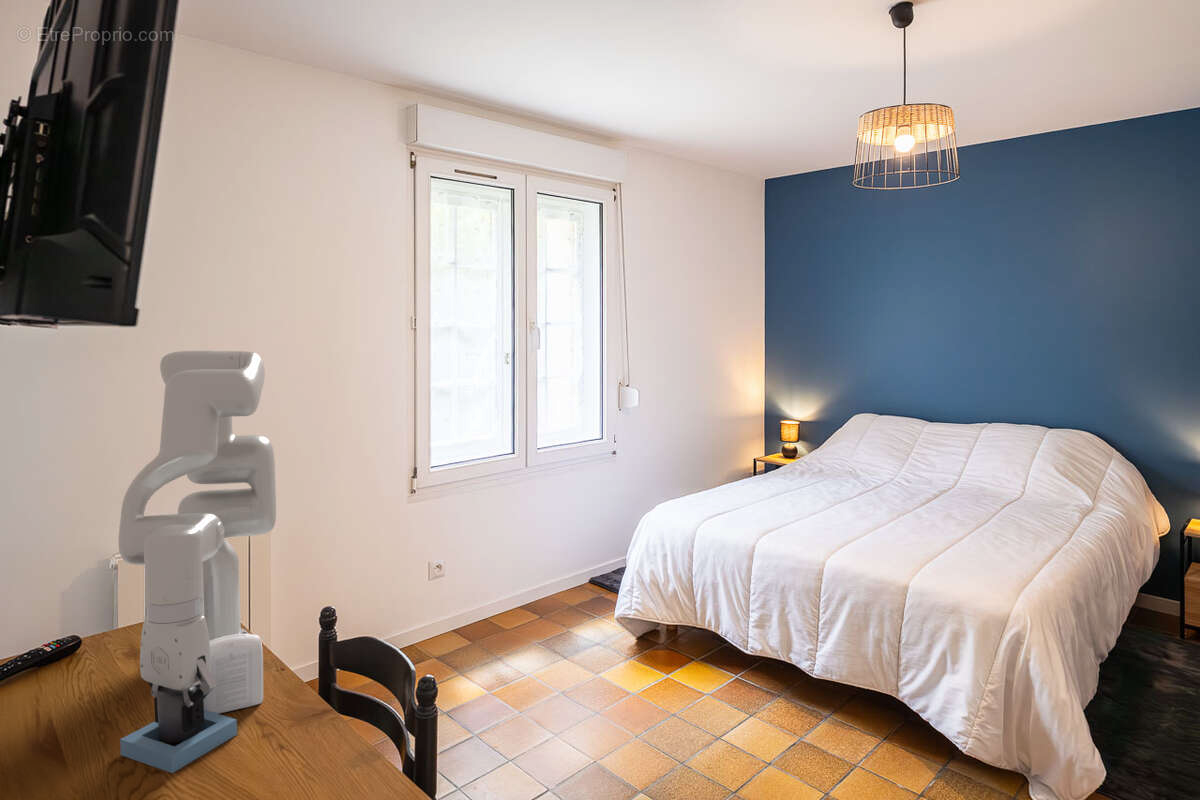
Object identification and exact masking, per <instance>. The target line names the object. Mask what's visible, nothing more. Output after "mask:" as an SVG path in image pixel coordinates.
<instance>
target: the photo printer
mask: <svg viewBox="0 0 1200 800" xmlns="http://www.w3.org/2000/svg"><path fill="white" fill-rule="evenodd" d="M262 643H263V642H262V641H261V637H260V635H259V634H253V633H249V634H235V635H229V636H224V637H220V638H217V639H214V640H211V641H210V650H211V674H212V676H213V678H214V680H215V681H216V684H217V685H216V687H215V688H214V689H213V690H211V691H210V692H209V694H208V695H207V697H206V699H204V710H206V711H210V712H213V713H216V714H223V713H227V712H231V711H235V710H236V711H237V710H239V709H245V708H249V707H254V706H256V705H259V704H261V703H263V701H264V652H263V651H264V648H263V645H262Z"/></svg>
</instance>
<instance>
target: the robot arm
mask: <svg viewBox="0 0 1200 800" xmlns="http://www.w3.org/2000/svg"><path fill="white" fill-rule="evenodd" d="M159 368H160V376H161V378H162V381H163V383H164V385H165V387H164V394H163V395H164V397H163V409H162V419H161V420H162V421H161V431H160V443H159V444H160V445H159V452H158V454H157V455H156V456H155V457H154V458H153V459H152V460H151V461H150V462H148V464H146V465H145V466H144V467H143V468H142V469H141V470H140V471H139V472H138V473H137V475H136V476H135V477H134V479H132V481H131V483H130V484H129V486H128V487H127V490H126V492H125V494H124V497H123V499H122V503H121V504H122V505H121V511H120V521H119V527H118V550H119V551H118V552H119V555H120V556H121V558H122V560H123V561H125V562H126V563H127V564H131V565H136V566H139V565H140V566H141V565H144V579H145V580H144V584H145V610H146V613H145V614H146V615H145V617H144V619H143V624H142V629H141V638H140V654H139V655H140V656H139V657H140V658H139V659H140V660H139V665H140V666H139V667H140V668H139V669H140V678H142V680H143V681H145V682H147V683H148V684H149V687H150V688H151V691H150V694H151V696H152V697H153V701H154V702H153V703H154V705H153V706H154V722H156V723H158V707H157V692H158V690H159V689H161V688H162V687H166V688H170V689H174V690H178V691H182V694H183V698H184V702H185V706H183V707H182V725H183V731H184V732H188V731H190V730H192V729H194V728H196V727H197V726H199V725H201V724H203V722H204V699H206V697H207V695H208V694H209V692H210V691H211V690H213V689H214V688H215V687H216V685H217V684H216V681H215V680H214V678H213V676H212V674H211V650H210V641H211V640H214V639H217V638H220V637H224V636H229V635H235V634H250V632H249V631H248V630H247V631H248V632H249V633H248V632H247V631H246V629H245V628H243V627H241V625H242V623H241V621H242V620H241V595H240V594H241V590H240V589H241V588H240V560H239V556H238V553H237V551H236V550H235V549H234V547H233V546H232V545H231V544H230V543H229V541H227V538H229V539H230V538H236V537H251V536H252V537H253V536H260V535H265V534H268V533H270V532H271V531H272V530H273V529H274V527H275V525H276V520H277V492H276V490H277V489H276V468H275V467H276V461H275V452H274V449H273V445H272V443H271V441H270V439H268V437H265V436H263V435H257V434H255V435H254V434H249V435H247V434H245V435H243V434H242V435H235V434H234V432H233V417H249V416H251V415H254V413H255V412H256V411H257V409H258V407H259V403H260V400H261V395H262V390H263V388H264V382H265V366H264V362H263V360H262V358H261V357H260V355H259V354H258V353H255V352H254V351H253V352H252V351H241V350H238V351H237V350H235V351H234V350H232V351H231V350H182V351H181V350H180V351H173V352H171V353H169V352H168V354H166V355H164V356H163V357H162V358H161V360H160V363H159ZM183 476H187V479H188V480H189V481H190V482H192V483H194V484H197V485H198V484H199V485H223V484H224V485H226V484H227V485H228V484H246V485H248V486H249V487H250V488H233V489H232V488H227V489H225V488H223V489H211V490H210V489H208V490H200V491H195V492H191V493H189V494H188V495H185V497H184V498H182V499H181V501H180V502H179V504H178V506H177V507H178V508H177V513H173V514H157V515H145V509H146V506H147V504H148V502H149V500H150V499H151V497H153V495H155V493H157V491H158V490H160V489H161V488H163V487H164V486H166V485H167V484H169V483H171V482H172V481H175V480H177V479H179V478H181V477H183ZM244 629H245V630H244ZM194 686H196V691H195V692H194V693H193V694H191V690H190V688H192V687H194Z"/></svg>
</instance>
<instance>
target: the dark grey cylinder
mask: <svg viewBox="0 0 1200 800" xmlns="http://www.w3.org/2000/svg"><path fill="white" fill-rule="evenodd" d="M190 690H191V694H193V693H194V692H195V691H196V686H194V687H192V688H190ZM183 706H185V702H184V698H183V694H182V691H178V690H174V689H170V688H166V687H162V688H161V689H159V690H158V692H157V707H158V732H159V740H160V742H162V743H165V744H176V743H182V742H184V741H186V740H188V739H189V738H191V737H193V736H195V735H196V734H198V733H200V732H199V731H200V725H199V726H197V727H196V728H194V729H192V730H190V731H188V732H184V731H183V725H182V707H183Z"/></svg>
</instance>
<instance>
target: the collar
mask: <svg viewBox="0 0 1200 800" xmlns="http://www.w3.org/2000/svg"><path fill="white" fill-rule="evenodd" d="M237 735H238V721H237V718H233V717H229V716H226V715H222V714H221V713H219V714H216V713H213V712H210V711H206V710H204V722H203V724H201V725H200V731H199V732H198V734H196V735H195V736H193V737H191V738H189V739H187V740H185V741H181V742H179V744H176V745H175V746H174V745H171V744H169V743H164V742H161V741H160V740H159V732H158V723H156V722H155V721H152V722H151V723H149V724H147V725H145V726H143V727H141V728H140V729H137V730H135V731H133V732H131V733H129V734H127V735H126V736H124V737H121V738H120V739H119V741H120V742H119V743H120V756H121V757H126V758H127V759H131V760H133V761H137V762H139V763H143V764H144V765H148V766H151V767H152V768H153V767H154V768H157V769H159V770H162V771H165V772H168V773H171V774H173V773H175V772H176V771H178V770H180V769H182V768H183V767H185V766H187V765H188V764H190V763H192V762H194V761H195V760H197V759H199V758H200V757H202V756H204V755H206V754H207V753H209V752H210V751H212V750H214V749H216V748H217V747H219V746H220V745H222V744H224V743H225V742H227V741H229V740H230V739H232V738H233V737H235V736H237Z"/></svg>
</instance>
